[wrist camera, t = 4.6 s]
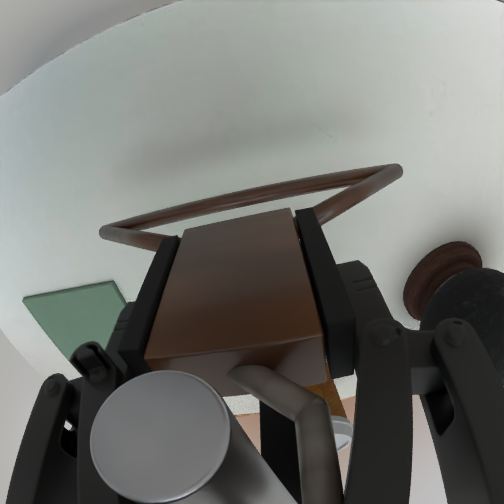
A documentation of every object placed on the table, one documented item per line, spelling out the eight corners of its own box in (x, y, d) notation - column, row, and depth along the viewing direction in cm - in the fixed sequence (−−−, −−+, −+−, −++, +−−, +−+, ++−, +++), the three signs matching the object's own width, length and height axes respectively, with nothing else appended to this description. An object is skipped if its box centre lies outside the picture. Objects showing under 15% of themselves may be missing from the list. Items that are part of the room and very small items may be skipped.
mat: (186, 393, 41) (186, 396, 41) (102, 393, 43) (101, 396, 43) (113, 280, 30) (111, 284, 29) (23, 297, 31) (21, 300, 31)
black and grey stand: (235, 297, 31) (227, 543, 11) (182, 134, 22) (-31, 449, 3) (313, 283, 30) (364, 530, 11) (284, 110, 21) (512, 450, 2)
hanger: (109, 244, 21) (-6, 487, 5) (96, 216, 20) (-49, 459, 4) (399, 184, 19) (582, 429, 3) (398, 150, 17) (624, 386, 2)
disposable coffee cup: (296, 391, 41) (305, 464, 31) (249, 366, 37) (250, 451, 27) (351, 360, 37) (371, 439, 27) (307, 330, 34) (324, 424, 24)
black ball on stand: (480, 299, 32) (531, 382, 20) (398, 336, 35) (437, 436, 23) (487, 218, 26) (571, 306, 13) (389, 259, 28) (455, 381, 16)
